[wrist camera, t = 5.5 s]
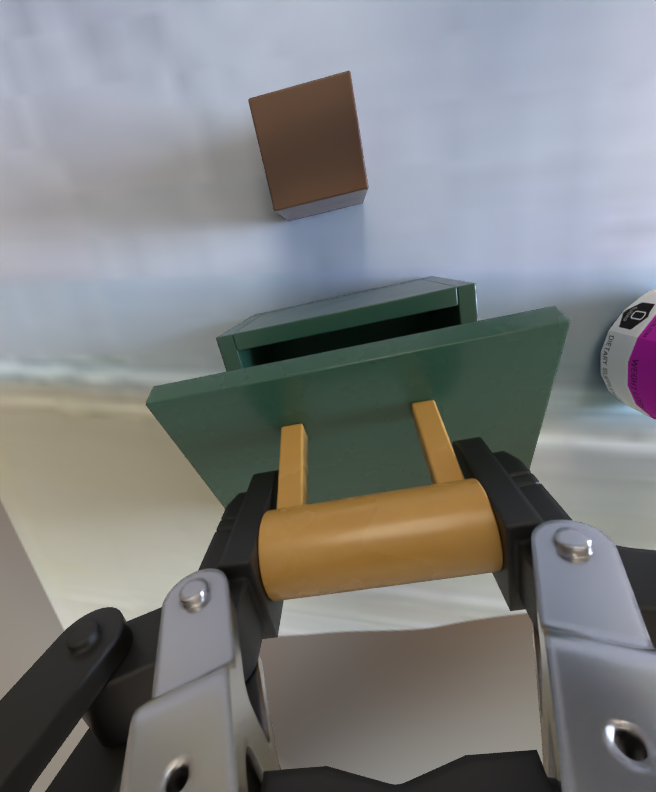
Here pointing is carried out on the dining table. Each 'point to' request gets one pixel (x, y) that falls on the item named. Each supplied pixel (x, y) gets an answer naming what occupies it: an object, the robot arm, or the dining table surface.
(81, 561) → the dining table surface
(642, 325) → the supplement can
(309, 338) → the tea tin
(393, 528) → the tin lid
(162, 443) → the dining table surface
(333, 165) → the walnut block
